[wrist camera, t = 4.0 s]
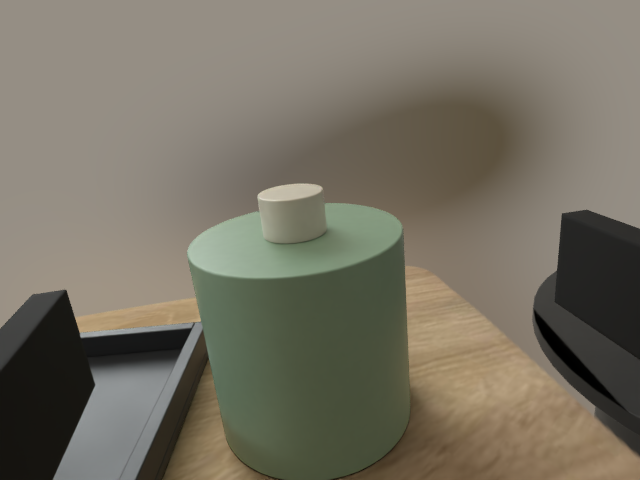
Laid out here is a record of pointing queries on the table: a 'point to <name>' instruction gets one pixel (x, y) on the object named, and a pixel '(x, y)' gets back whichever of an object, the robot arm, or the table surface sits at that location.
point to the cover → (306, 332)
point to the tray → (135, 401)
